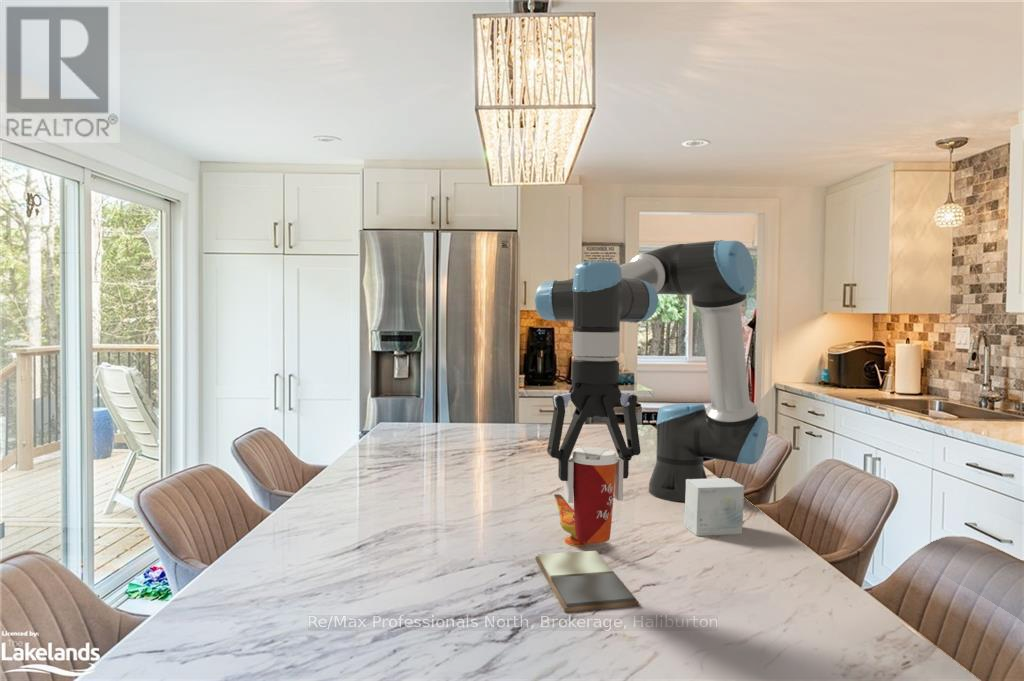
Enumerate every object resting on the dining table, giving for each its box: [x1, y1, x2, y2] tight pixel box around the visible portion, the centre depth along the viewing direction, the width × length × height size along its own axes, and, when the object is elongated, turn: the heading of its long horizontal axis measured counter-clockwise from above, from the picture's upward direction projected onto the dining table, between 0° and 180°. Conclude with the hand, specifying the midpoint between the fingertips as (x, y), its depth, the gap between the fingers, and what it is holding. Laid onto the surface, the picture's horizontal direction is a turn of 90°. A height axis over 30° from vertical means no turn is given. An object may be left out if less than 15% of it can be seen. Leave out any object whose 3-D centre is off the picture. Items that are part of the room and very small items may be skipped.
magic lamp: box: [553, 493, 590, 547], centre depth 121 cm, size 7×18×11 cm, turn 20°
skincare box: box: [683, 477, 745, 537], centre depth 127 cm, size 10×6×10 cm, turn 99°
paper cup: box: [569, 446, 618, 544], centre depth 96 cm, size 8×8×14 cm
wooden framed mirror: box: [535, 550, 640, 613], centre depth 102 cm, size 12×20×1 cm, turn 11°
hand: (593, 499), depth 96 cm, fingers closed on paper cup, 8 cm apart
